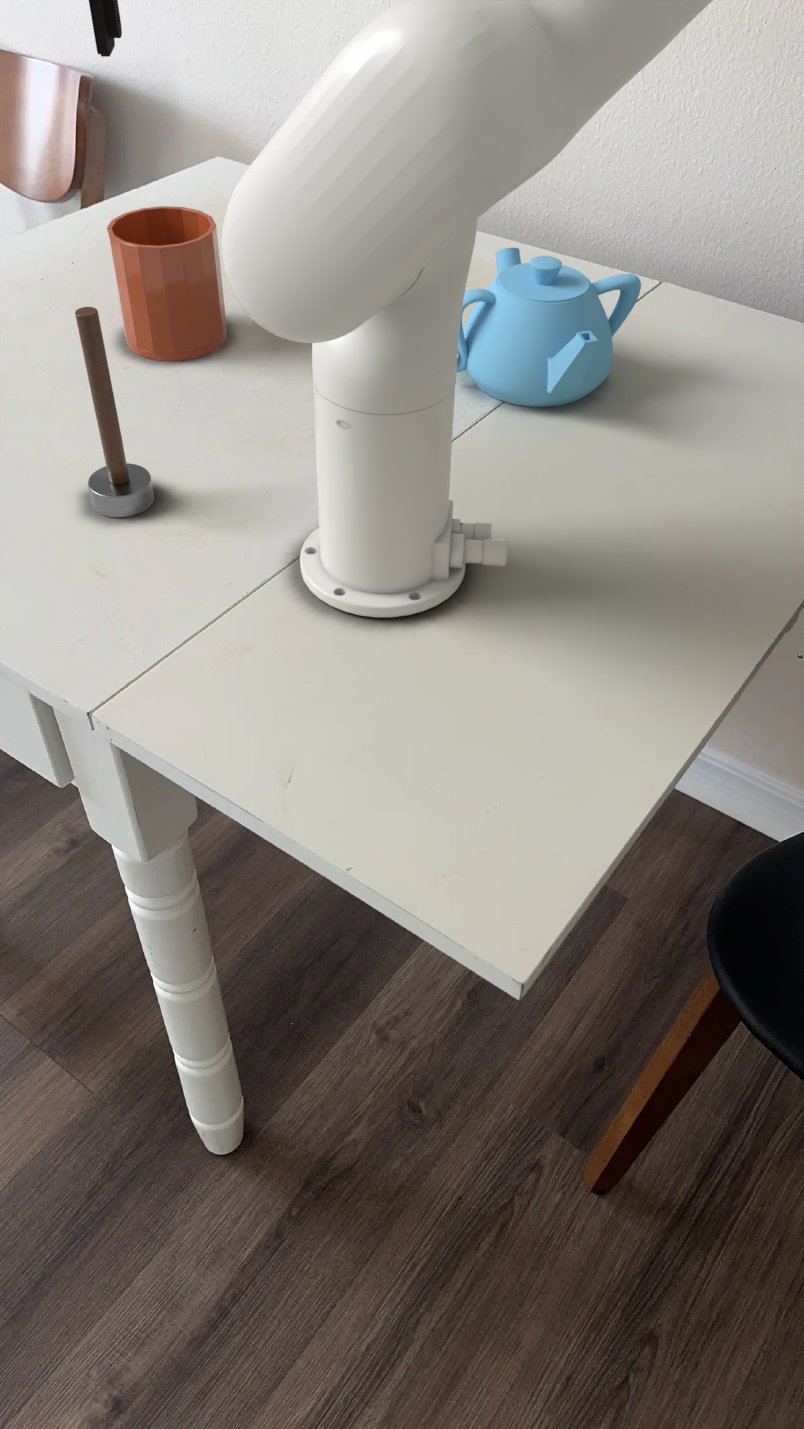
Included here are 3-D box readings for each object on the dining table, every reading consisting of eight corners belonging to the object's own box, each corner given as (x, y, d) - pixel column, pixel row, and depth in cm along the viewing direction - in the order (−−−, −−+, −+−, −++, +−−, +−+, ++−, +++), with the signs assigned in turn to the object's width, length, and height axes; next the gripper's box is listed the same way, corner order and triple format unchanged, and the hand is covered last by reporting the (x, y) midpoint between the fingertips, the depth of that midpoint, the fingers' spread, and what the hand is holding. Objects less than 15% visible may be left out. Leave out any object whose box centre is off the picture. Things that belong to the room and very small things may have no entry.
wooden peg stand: (160, 485, 90) (129, 298, 79) (146, 519, 87) (111, 328, 75) (101, 482, 90) (62, 294, 79) (84, 516, 87) (41, 325, 75)
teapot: (637, 354, 108) (657, 240, 100) (581, 435, 97) (599, 314, 89) (495, 322, 113) (503, 211, 105) (426, 396, 102) (430, 278, 94)
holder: (234, 318, 112) (224, 208, 105) (216, 363, 105) (203, 249, 97) (140, 313, 113) (122, 204, 105) (115, 358, 106) (94, 244, 98)
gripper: (-236, -317, 54) (-123, 68, 66) (112, -312, 55) (161, 67, 67) (-188, -321, 59) (-91, 36, 71) (129, -316, 60) (171, 36, 72)
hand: (31, 51), depth 69 cm, fingers open, 9 cm apart
